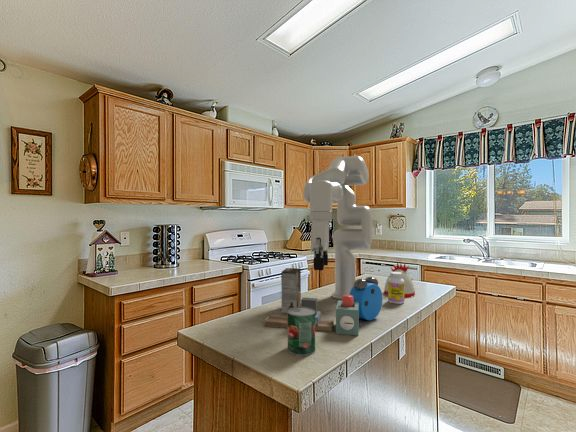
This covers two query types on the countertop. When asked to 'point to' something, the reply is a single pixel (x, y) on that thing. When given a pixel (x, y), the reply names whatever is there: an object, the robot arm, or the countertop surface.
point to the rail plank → (283, 322)
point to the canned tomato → (301, 331)
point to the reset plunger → (347, 301)
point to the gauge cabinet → (347, 319)
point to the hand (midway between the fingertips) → (321, 267)
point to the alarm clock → (367, 297)
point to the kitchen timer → (408, 282)
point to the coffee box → (291, 288)
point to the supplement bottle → (396, 288)
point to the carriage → (312, 304)
